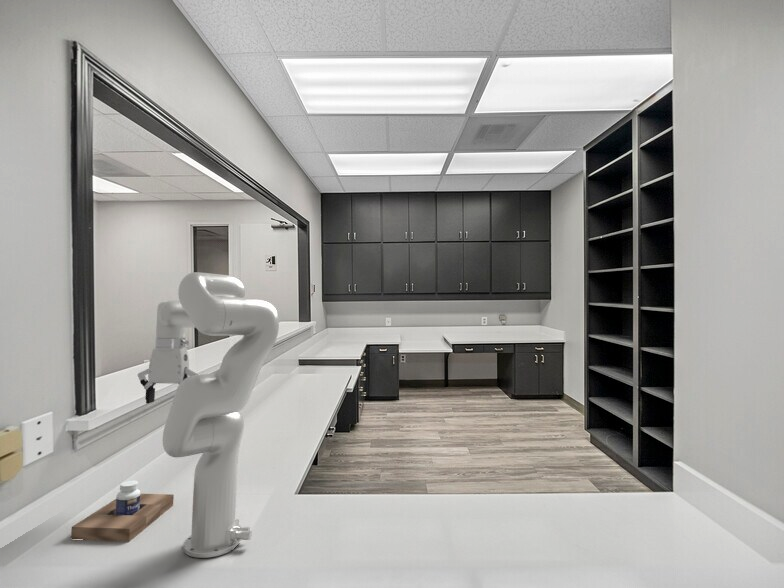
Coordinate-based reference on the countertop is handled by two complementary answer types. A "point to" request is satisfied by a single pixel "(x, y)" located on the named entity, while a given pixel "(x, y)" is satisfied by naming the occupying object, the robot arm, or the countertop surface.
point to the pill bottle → (128, 498)
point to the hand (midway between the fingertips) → (166, 403)
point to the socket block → (122, 520)
